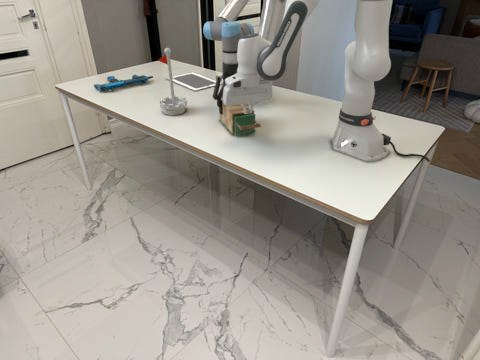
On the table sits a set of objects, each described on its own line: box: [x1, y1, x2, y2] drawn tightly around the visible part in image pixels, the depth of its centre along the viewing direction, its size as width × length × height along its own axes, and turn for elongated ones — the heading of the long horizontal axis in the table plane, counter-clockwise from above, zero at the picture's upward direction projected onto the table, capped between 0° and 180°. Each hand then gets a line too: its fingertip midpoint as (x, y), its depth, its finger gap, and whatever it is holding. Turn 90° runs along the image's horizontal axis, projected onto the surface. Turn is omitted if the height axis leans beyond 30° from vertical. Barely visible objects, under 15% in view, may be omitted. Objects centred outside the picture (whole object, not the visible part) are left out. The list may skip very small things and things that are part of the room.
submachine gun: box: [93, 74, 154, 92], centre depth 206 cm, size 34×4×25 cm
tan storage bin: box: [219, 100, 255, 136], centre depth 152 cm, size 17×10×10 cm, turn 21°
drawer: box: [234, 113, 262, 136], centre depth 147 cm, size 22×9×8 cm, turn 21°
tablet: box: [166, 71, 223, 92], centre depth 210 cm, size 32×20×1 cm, turn 41°
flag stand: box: [157, 47, 188, 116], centre depth 161 cm, size 13×13×30 cm
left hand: (232, 111), depth 156 cm, fingers closed on tan storage bin, 10 cm apart
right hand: (247, 113), depth 137 cm, fingers closed
